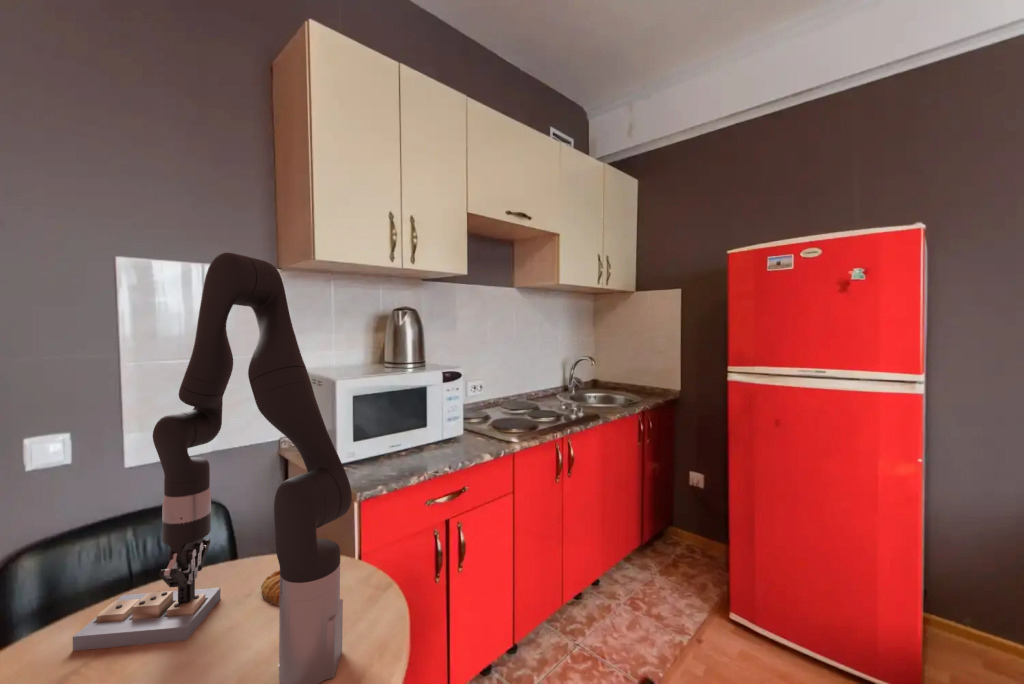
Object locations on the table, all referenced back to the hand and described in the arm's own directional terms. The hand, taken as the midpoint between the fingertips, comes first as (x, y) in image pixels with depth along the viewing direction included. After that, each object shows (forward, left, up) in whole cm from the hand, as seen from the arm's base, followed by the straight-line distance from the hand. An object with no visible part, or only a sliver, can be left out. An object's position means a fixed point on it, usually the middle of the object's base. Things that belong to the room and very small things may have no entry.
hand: (186, 600), depth 83 cm
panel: (+6, 0, -4) cm, 7 cm away
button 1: (+11, 0, -3) cm, 12 cm away
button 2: (0, 0, -3) cm, 3 cm away
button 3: (+6, 0, -2) cm, 6 cm away
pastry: (-15, -6, -4) cm, 17 cm away
